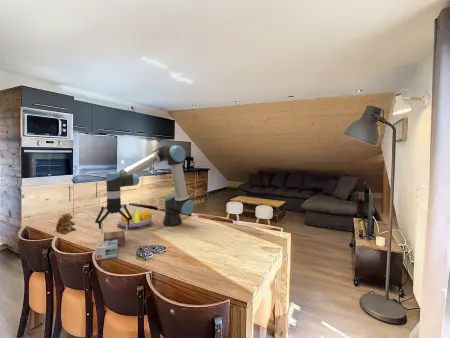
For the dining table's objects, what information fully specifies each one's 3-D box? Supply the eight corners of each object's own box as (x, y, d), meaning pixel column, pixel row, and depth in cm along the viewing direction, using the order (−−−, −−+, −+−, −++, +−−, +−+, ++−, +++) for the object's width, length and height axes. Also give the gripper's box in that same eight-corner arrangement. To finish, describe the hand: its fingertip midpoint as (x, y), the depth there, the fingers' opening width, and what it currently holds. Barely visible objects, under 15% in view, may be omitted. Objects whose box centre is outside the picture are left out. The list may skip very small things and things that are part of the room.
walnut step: (124, 239, 163) (123, 230, 163) (125, 245, 152) (125, 236, 152) (104, 241, 158) (103, 232, 157) (103, 248, 147) (103, 239, 147)
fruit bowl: (147, 230, 181) (147, 216, 180) (111, 230, 181) (110, 215, 180) (158, 220, 209) (158, 207, 208) (127, 219, 209) (126, 206, 208)
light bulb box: (117, 239, 145) (116, 245, 135) (117, 250, 146) (117, 257, 136) (97, 241, 141) (95, 248, 131) (97, 252, 142) (95, 260, 132)
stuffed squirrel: (65, 234, 171) (65, 216, 170) (50, 232, 175) (50, 214, 174) (78, 230, 180) (77, 212, 179) (63, 228, 184) (63, 211, 183)
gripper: (135, 195, 154) (135, 227, 156) (90, 198, 143) (91, 233, 145) (136, 197, 147) (137, 231, 149) (89, 200, 136) (90, 237, 138)
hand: (114, 232), depth 147 cm, fingers open, 13 cm apart
